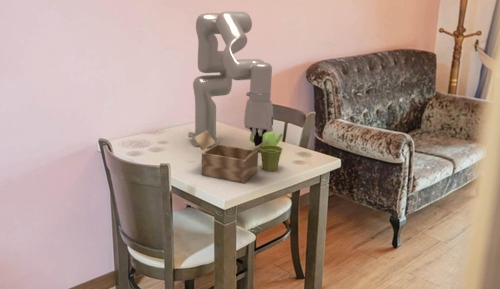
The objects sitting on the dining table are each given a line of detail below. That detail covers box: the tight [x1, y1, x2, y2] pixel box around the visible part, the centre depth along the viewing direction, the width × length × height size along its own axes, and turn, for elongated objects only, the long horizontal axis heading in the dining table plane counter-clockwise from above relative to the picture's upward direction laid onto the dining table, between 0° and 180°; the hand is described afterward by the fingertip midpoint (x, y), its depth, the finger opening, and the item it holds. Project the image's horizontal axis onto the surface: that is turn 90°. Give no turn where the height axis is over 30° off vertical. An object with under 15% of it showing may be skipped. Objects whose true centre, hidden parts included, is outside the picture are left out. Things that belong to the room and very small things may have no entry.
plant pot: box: [259, 145, 283, 172], centre depth 198 cm, size 9×9×9 cm
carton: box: [201, 143, 259, 185], centre depth 191 cm, size 18×13×9 cm
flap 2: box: [246, 139, 267, 158], centre depth 185 cm, size 6×11×1 cm
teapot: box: [249, 130, 284, 153], centre depth 221 cm, size 12×12×10 cm
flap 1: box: [194, 130, 215, 151], centre depth 192 cm, size 6×11×1 cm
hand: (258, 144), depth 184 cm, fingers closed
